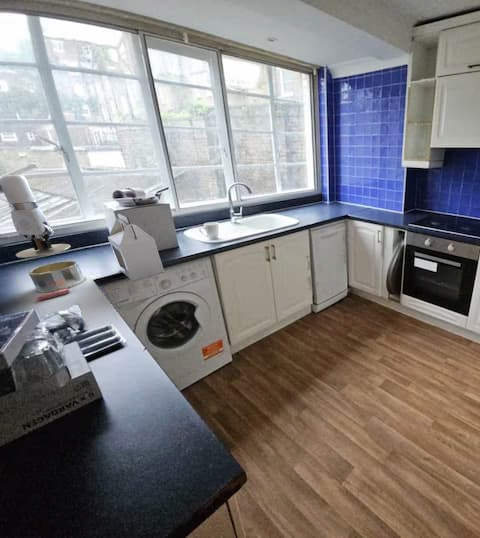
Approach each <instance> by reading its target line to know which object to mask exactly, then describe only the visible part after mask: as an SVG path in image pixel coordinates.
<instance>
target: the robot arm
mask: <svg viewBox="0 0 480 538" xmlns="http://www.w3.org/2000/svg"><path fill="white" fill-rule="evenodd" d="M2 194H4V196H5V198H6V201H7V203H8V207H9V208H10V209H11V210H10V216H11V220H12V224H13V226H14V228H15V231H16V233H17V234H18V235H19V236H21V237H23V238H25V239H27V241H28V242H30V243H31V245H32V248H34V250H39V249H38V247H37V245H36V243H35V240H34V238H36V237H40V239H41V240H42V241H40V242H41V244H42V246H43V249H44V250H47V249H50V248H52V246H51V245H52V244H51V243H52V242H51V241H50V239H51V236H53V235H54V234H55V231H54V230H53V229H52V228H51V224H50V223H49V221H48V218H47V216H46V215H45V214H44V212H43V211H42V210H41V208H39V205H38V202H37V201H36V198H35V195H34V194H33V191H32V190H31V187H30V184H29V182H28V179H27V178H26V177H25V176H24V175H22V174H3V175H2V174H1V175H0V195H2ZM37 235H38V236H37Z"/></svg>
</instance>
